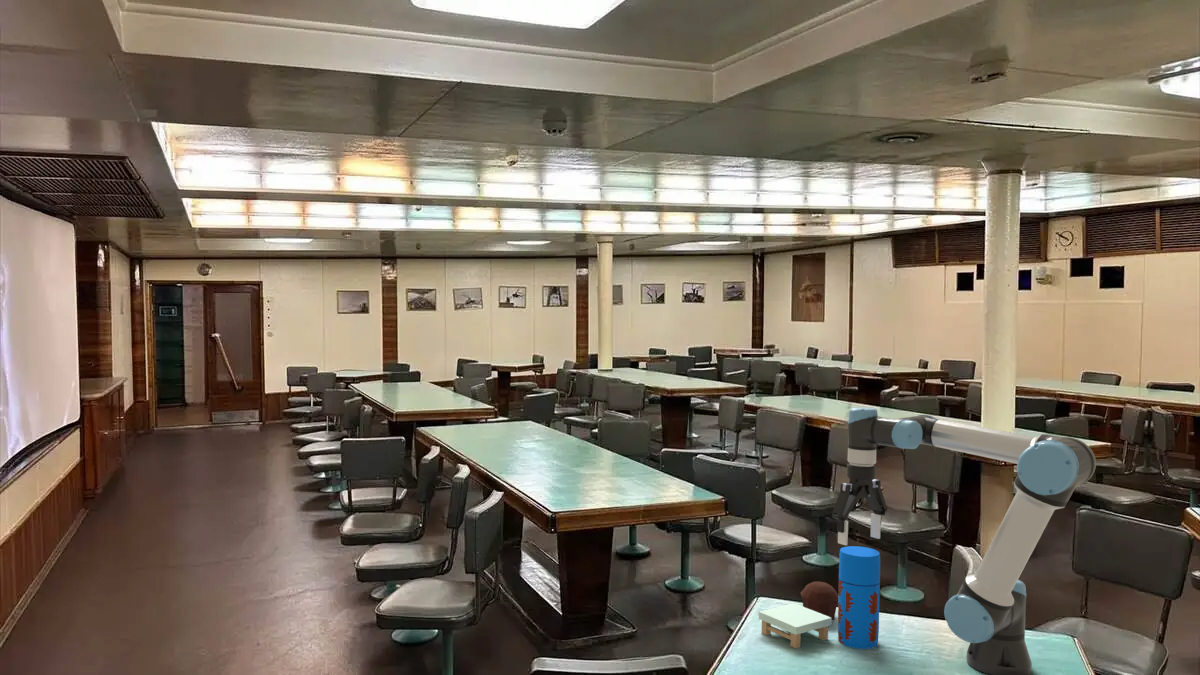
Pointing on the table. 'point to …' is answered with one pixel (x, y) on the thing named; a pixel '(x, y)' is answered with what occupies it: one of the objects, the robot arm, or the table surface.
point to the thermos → (859, 597)
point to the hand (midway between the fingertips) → (859, 541)
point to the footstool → (794, 622)
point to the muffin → (820, 598)
